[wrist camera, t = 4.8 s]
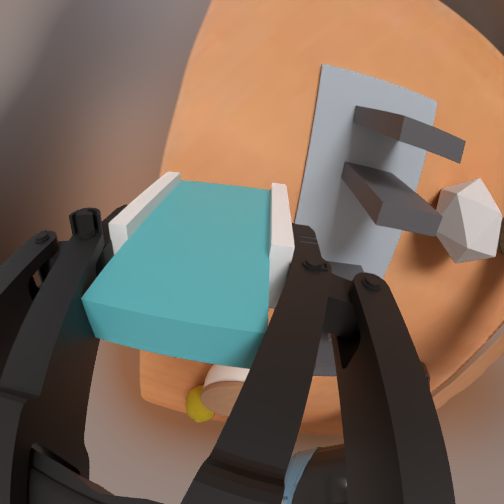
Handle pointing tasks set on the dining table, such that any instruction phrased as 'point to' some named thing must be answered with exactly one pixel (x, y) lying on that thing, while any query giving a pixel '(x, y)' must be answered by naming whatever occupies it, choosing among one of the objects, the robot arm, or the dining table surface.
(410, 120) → the domino
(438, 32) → the dining table surface
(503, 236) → the thermos
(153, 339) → the teal domino
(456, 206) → the die
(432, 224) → the domino
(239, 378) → the lidded jar
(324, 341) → the domino
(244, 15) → the dining table surface
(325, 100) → the mat
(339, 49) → the dining table surface
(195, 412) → the lemon
